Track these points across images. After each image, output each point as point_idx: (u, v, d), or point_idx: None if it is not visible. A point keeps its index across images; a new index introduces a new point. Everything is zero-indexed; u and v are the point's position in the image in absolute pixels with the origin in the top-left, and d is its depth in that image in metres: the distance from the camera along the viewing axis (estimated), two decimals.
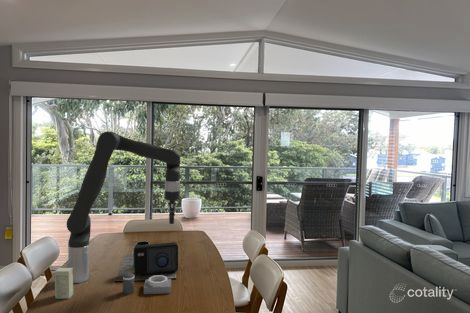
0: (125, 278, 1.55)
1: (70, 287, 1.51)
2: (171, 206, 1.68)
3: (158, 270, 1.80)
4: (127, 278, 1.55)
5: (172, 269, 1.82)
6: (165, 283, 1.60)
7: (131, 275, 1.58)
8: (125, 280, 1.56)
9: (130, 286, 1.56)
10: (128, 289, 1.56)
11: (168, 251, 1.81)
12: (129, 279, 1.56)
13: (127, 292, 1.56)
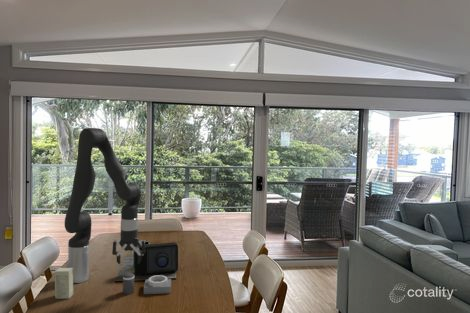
0: (125, 278, 1.55)
1: (70, 287, 1.51)
2: (144, 243, 1.58)
3: (158, 270, 1.80)
4: (127, 278, 1.55)
5: (172, 269, 1.82)
6: (165, 283, 1.60)
7: (131, 275, 1.58)
8: (125, 280, 1.56)
9: (130, 286, 1.56)
10: (128, 289, 1.56)
11: (168, 251, 1.81)
12: (129, 279, 1.56)
13: (127, 292, 1.56)
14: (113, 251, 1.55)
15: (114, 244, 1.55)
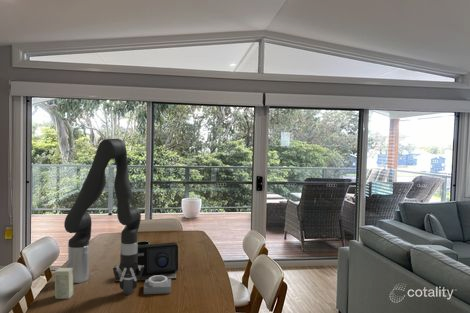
0: (125, 278, 1.55)
1: (70, 287, 1.51)
2: None
3: (158, 270, 1.80)
4: (127, 278, 1.55)
5: (172, 269, 1.82)
6: (165, 283, 1.60)
7: (131, 275, 1.58)
8: (125, 280, 1.56)
9: (130, 286, 1.56)
10: (128, 289, 1.56)
11: (168, 251, 1.81)
12: (129, 279, 1.56)
13: (127, 292, 1.56)
14: (116, 277, 1.56)
15: (114, 270, 1.55)
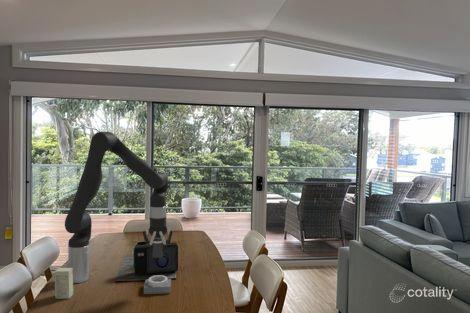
0: (155, 241, 1.58)
1: (70, 287, 1.51)
2: None
3: (158, 270, 1.80)
4: (157, 241, 1.58)
5: (172, 269, 1.82)
6: (165, 283, 1.60)
7: (160, 239, 1.60)
8: (155, 243, 1.58)
9: (159, 250, 1.58)
10: (158, 252, 1.58)
11: (168, 251, 1.81)
12: (159, 242, 1.58)
13: (157, 255, 1.58)
14: (145, 240, 1.58)
15: (144, 233, 1.58)
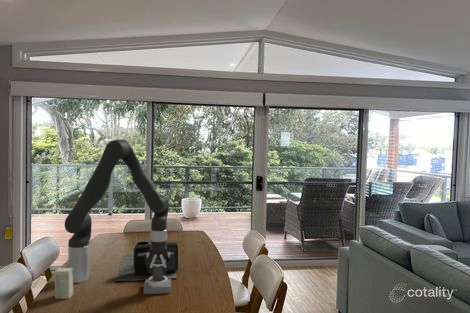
0: (155, 264, 1.59)
1: (70, 287, 1.51)
2: (172, 256, 1.62)
3: None
4: (157, 264, 1.59)
5: (172, 269, 1.82)
6: (165, 283, 1.60)
7: (161, 262, 1.61)
8: (155, 266, 1.59)
9: (160, 273, 1.60)
10: (158, 275, 1.59)
11: (168, 251, 1.81)
12: (159, 266, 1.59)
13: (157, 278, 1.59)
14: (146, 263, 1.59)
15: (145, 256, 1.59)
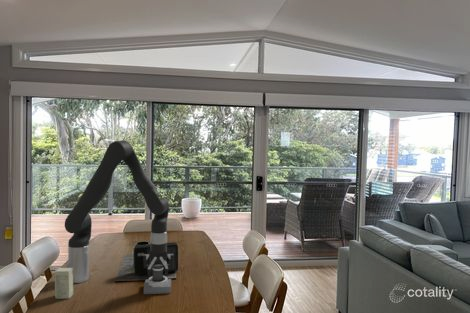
0: (155, 269, 1.59)
1: (70, 287, 1.51)
2: None
3: None
4: (157, 269, 1.59)
5: (172, 269, 1.82)
6: (165, 283, 1.60)
7: (160, 266, 1.61)
8: (155, 271, 1.59)
9: (159, 277, 1.60)
10: (158, 280, 1.60)
11: (168, 251, 1.81)
12: (159, 270, 1.59)
13: None
14: (144, 265, 1.59)
15: (144, 258, 1.59)
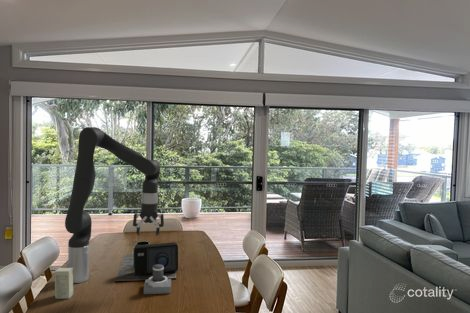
0: (155, 269, 1.59)
1: (70, 287, 1.51)
2: (163, 216, 1.67)
3: None
4: (157, 269, 1.59)
5: (172, 269, 1.82)
6: (165, 283, 1.60)
7: (161, 266, 1.61)
8: (155, 271, 1.59)
9: (159, 277, 1.60)
10: (158, 279, 1.60)
11: (168, 251, 1.81)
12: (159, 270, 1.60)
13: None
14: (134, 223, 1.64)
15: (135, 216, 1.64)
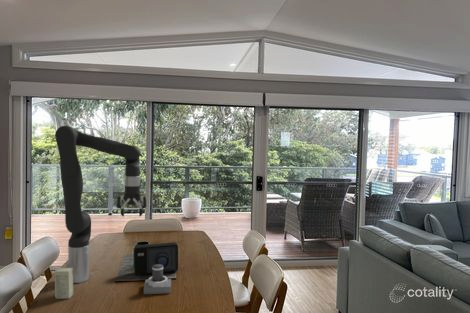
0: (154, 268, 1.59)
1: (70, 287, 1.51)
2: (145, 198, 1.78)
3: None
4: (156, 268, 1.59)
5: (172, 269, 1.82)
6: (165, 283, 1.60)
7: (160, 266, 1.61)
8: (154, 270, 1.60)
9: (159, 277, 1.60)
10: (157, 279, 1.60)
11: (168, 250, 1.81)
12: (158, 270, 1.60)
13: None
14: (118, 204, 1.75)
15: (119, 198, 1.75)
